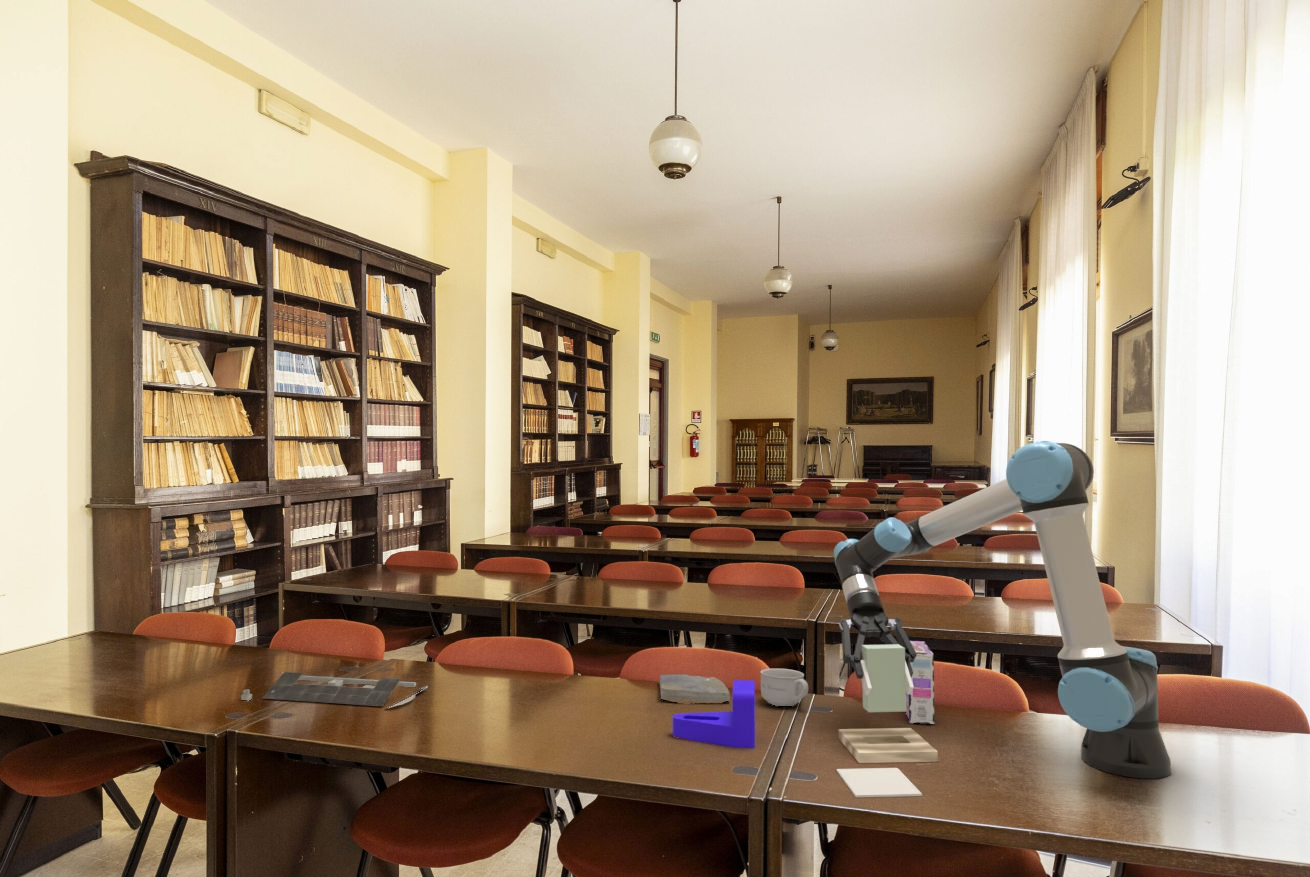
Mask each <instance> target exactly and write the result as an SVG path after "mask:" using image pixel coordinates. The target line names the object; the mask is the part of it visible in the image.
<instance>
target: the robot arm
mask: <svg viewBox="0 0 1310 877" xmlns="http://www.w3.org/2000/svg"><path fill="white" fill-rule="evenodd" d="M1094 471H1095V470H1094V465H1093V462H1092V460H1091V458H1090V456H1089V455H1088V454H1087V453H1086V452H1085V451H1084V450H1083V449H1082V448H1080V447H1078V446H1076V445H1074V444H1071V443H1064V442H1063V443H1062V442H1053V441H1049V440H1043V441H1035V442H1031V443H1026V444H1025V445H1022V446H1021V447H1020V448H1019V449H1017V450H1015V451H1014V453H1013V454H1012V455H1011V457H1010V458H1009V460H1008V462H1007V466H1006V469H1005V479H1003V480H1001V481H998V482H996V483H994V484H992V485H989V486H987V487H985V488H983V489H981V490H978V491H976V492H974V493H972V494H969V495H967V496H964V497H962V498H960V499H958V500H956V501H953V502H950V503H949V504H946V505H945V506H942V507H939V508H937V509H936V510H933V511H931V512H929V513H926V514H924V515H922V516H920V517H918V518H915V519H913V520H911V521H909V522H906V523H905V522H903V521H902V520H901V519H897V518H896V517H888V518H886V519H885V520H883V521H882V522H879V523H878V524H877V525H876V526H874V528H872V529H871V531H869V532H868V533H867V534H865V535H864V536H863V537H862V538H860V539H856V538H848V539H846V540H844V541H842V540H841V541H839V542H838V543H837V544H836V545H835V547H834V549H833V556H834V564H835V567H836V569H837V573H838V576H839V579H840V582H841V587H842V591H843V595H844V597H845V598H844V599H845V602H846V606H847V611H848V613H849V616H850V619H846V618H844V617H843V618H840V621H839V623H838V629H839V630H840V632H841V646H842V647H841V648H842V661H843V663H844V664H846V665H847V664H851V667H852V669H854V674H855V677H856V678H857V679H858V680H859V679H860V680H861V684H863V685H862V688H863V687H864V691H865V695H869V694H870V692H871V689H872V686H871V683H870V679H869V675H868V672H867V668H866V665H865V661H864V660H862V659H861V658H862V645H864V642H865V638H872V637H873V638H878V639H879V640H880V641H881V642H883V643H884V645H892V644H899V645H900V646H902V647H904V648H905V680H906V692H907V694H911V692H912V690H913V688H914V686H913V683H912V680H911V677H912V675H913V670H912V667H911V664H910V662H914V660H915V658H916V655H917V654H916V652H915V650H914V648H913V646H912V644H911V642H910V641H911V640H910V639H909V637H908V635H907V633H906V631H905V629H904V627H903V624H902V618H900V617H899V616H898V617H896V618H895V619H893V618H888V616H887V615H886V613H885V610H884V607H883V603H882V600H881V597H880V595H879V594H880V593H879V591H878V587H877V584H876V582H875V577H874V574H873V572H875V571H876V570H877V569H879V568H880V567H881V566H882V565H884V564H885V563H886V562H888V561H889V560H891V559H893V558H894V559H895V558H901V557H907V556H911V555H912V556H918V555H920V554H921V555H922V554H924V553H926V552H928V551H929V550H930V549H931V548H934V547H936V546H938V545H941V544H943V543H946V542H948V541H950V540H952V539H955V538H957V537H960V536H963V535H966V534H967V533H970V532H972V531H975V530H977V529H980V528H983V527H985V526H988V525H990V524H992V523H995V522H997V521H1000V520H1002V519H1004V518H1006V517H1010V516H1012V515H1014V514H1017V513H1019V512H1022V513H1023V516H1024V517H1026V518H1028V519H1029V520H1030V521H1032V522H1033V524H1034V527H1035V531H1036V536H1037V539H1038V544H1039V549H1040V552H1041V557H1042V561H1043V564H1044V568H1045V573H1046V577H1047V581H1048V585H1049V589H1050V593H1051V594H1050V595H1051V598H1052V601H1053V606H1054V610H1055V614H1056V618H1057V623H1058V628H1059V631H1060V635H1061V639H1062V642H1063V646H1062V648H1061V649H1060V651H1059V652H1058V654H1057V659H1058V663H1059V664H1058V665H1059V668H1060V672H1061V676H1062V677H1061V679H1060V680H1059V683H1058V688H1057V695H1058V696H1057V697H1058V701H1059V702H1060V705H1061V708H1062V709H1063V710H1064V712H1065V713H1066V715H1067V716H1068V717H1069V718H1070V719H1071V720H1072V721H1074V722H1075V723H1077V724H1078V725H1079V726H1080V727H1083V728H1085V729H1086V731H1085V734H1084V736H1083V738H1082V741H1081V745H1080V746H1081V747H1080V756H1081V757H1080V758H1081V759H1082V760H1083V762H1085V763H1086V764H1087V765H1088V766H1090V767H1092V768H1095V769H1097V770H1100V771H1103V772H1107V773H1110V774H1112V775H1113V774H1114V775H1117V776H1118V775H1119V776H1122V777H1128V778H1133V779H1135V778H1136V779H1161V778H1166V777H1168V776H1170V775H1171V774H1172V773H1171V772H1172V767H1171V766H1172V763H1171V758H1170V755H1169V753H1168V750H1167V748H1166V745H1165V742H1164V740H1163V737H1162V734H1161V731H1160V726H1159V725H1160V724H1159V723H1160V722H1159V694H1158V692H1159V691H1158V690H1159V689H1158V687H1159V686H1158V670H1159V666H1158V665H1157V664H1158V663H1157V657H1156V655H1155V654H1154V653H1153V651H1150V650H1148V649H1142V648H1137V647H1131V646H1130V647H1129V646H1123V645H1120V644H1119V643H1118V642H1117V641H1116V640H1115V636H1114V633H1113V629H1112V628H1113V627H1112V625H1111V621H1110V617H1109V613H1108V608H1107V605H1106V600H1105V597H1104V594H1103V589H1102V586H1101V583H1100V582H1101V581H1100V578H1099V574H1098V570H1097V565H1096V562H1095V558H1094V555H1093V551H1092V546H1091V542H1090V540H1089V539H1090V538H1089V535H1088V534H1089V533H1088V530H1087V526H1086V524H1085V519H1084V513H1085V511H1086V510H1087V508H1088V507H1089V505H1090V504H1089V503H1090V502H1089V500H1088V499H1089V498H1088V495H1087V492H1086V491H1087V490H1088V489H1089V487H1090V486H1091V484H1092V482H1093V479H1094V473H1095V472H1094ZM888 626H890V629H891V630H892V631H893V633H894V635H895V637H896V638H895V637H894V636H893V635H892V634H891V631H890V629H889V628H888ZM851 627H852V628H853V629H854V630H856V632H858V634H857V640H856V644H855V648H854V653H853V654H852V648H851V634H850V630H851Z"/></svg>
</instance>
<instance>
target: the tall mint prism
mask: <svg viewBox="0 0 1310 877" xmlns="http://www.w3.org/2000/svg"><path fill="white" fill-rule="evenodd" d="M899 644H900V643H899ZM899 644H892V645H886V644H863V645H862V652H861V660H864V661H865V665H866V668H867V672H868V675H869V679H870V683H871V686H872V689H871V692H870V694H869V695H865V691H864V687H863V684H862V683H861V684H862V685H861V686H862V708H864V710H865V711H866V712H867V713H891V712H892V713H893V712H896V713H898V712H901V713H902V712H905V711H906V680H905V648H904V647H902V646H901V645H899Z"/></svg>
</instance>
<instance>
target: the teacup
mask: <svg viewBox="0 0 1310 877" xmlns="http://www.w3.org/2000/svg"><path fill="white" fill-rule="evenodd" d="M804 676H805V674H804V673H803V672H801V671H799V670H794V669H790V668H789V669H788V668H765V669H761V670H760V692H761V696H762V698H763V699H764V700H765V701H766V703H768V704H769V703H770V704H772V705H771V706H773V705H775V706H774V707H778V706H792V707H795V706H796V705H797V704H798V703H799V702H801V701H802V698H804V697H806V696H807V695H808V694H809V693H808V692H809V684H808V682H807V680H806V679H804ZM770 704H769V705H770Z"/></svg>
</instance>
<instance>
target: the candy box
mask: <svg viewBox="0 0 1310 877" xmlns="http://www.w3.org/2000/svg"><path fill="white" fill-rule="evenodd" d="M910 642H911V644H912V646H913V648H914V650H915V652H916V654H917V655H916V658H915V660H914V662H910V664H911V667H912V670H913V675H912V677H911V680H912V683H913V686H914V688H913V690H912V692H911V694H907V692H906V711H904V713H905V712H906V713H905V716H906V715H907V716H906V718H907V717H908V718H907V720H908V719H909V720H908V723H909V724H913V723H920V724H919V725H926V724H935V721H936V720H935V692H934V691H935V674H934V672H935V670H934V669H935V667H934V664H935V663H934V659H935V658H934V655H935V654H934V653H933V652H932V650H931V649H930V647H928V645H927V643H926V641H920V640H910Z"/></svg>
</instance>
